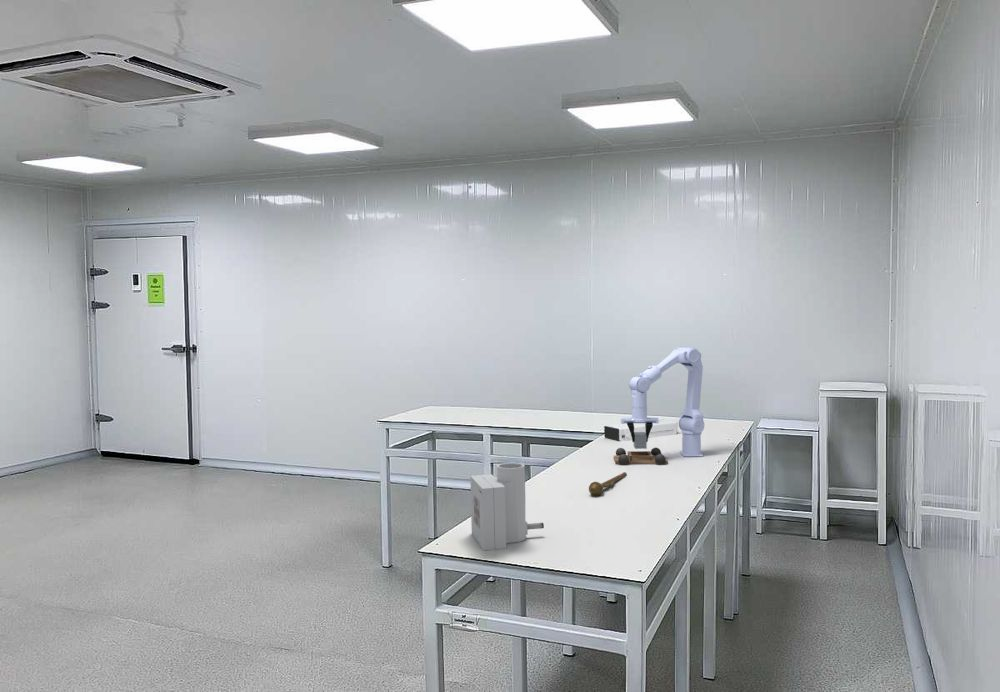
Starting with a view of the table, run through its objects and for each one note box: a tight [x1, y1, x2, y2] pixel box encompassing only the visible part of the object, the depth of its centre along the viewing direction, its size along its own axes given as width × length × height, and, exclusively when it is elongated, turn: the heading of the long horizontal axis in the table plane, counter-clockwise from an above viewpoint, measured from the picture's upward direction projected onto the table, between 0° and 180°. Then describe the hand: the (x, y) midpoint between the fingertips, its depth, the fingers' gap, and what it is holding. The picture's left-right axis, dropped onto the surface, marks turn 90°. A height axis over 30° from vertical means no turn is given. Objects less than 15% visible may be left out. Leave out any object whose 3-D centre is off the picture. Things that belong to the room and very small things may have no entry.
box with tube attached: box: [469, 462, 545, 551], centre depth 221 cm, size 16×19×20 cm
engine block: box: [633, 432, 648, 450], centre depth 322 cm, size 6×4×6 cm
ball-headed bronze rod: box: [588, 471, 628, 497], centre depth 282 cm, size 5×35×5 cm
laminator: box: [603, 419, 678, 442], centre depth 380 cm, size 34×12×6 cm, turn 119°
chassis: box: [613, 447, 669, 466], centre depth 323 cm, size 15×20×4 cm
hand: (639, 441), depth 322 cm, fingers closed on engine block, 4 cm apart
